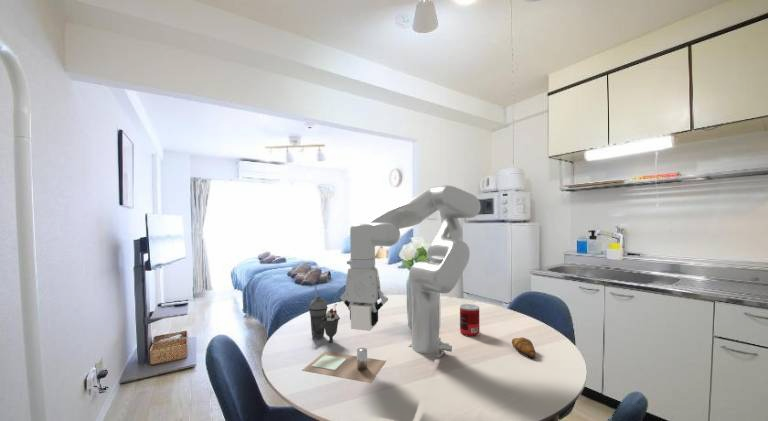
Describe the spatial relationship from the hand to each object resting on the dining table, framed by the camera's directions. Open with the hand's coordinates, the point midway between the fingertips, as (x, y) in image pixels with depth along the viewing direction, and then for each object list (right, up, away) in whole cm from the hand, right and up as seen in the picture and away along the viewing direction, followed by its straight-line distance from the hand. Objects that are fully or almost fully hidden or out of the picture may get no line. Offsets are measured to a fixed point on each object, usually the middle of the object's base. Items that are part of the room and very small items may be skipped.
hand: (364, 322), depth 93 cm
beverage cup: (-20, -16, +28) cm, 38 cm away
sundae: (-13, -16, +19) cm, 28 cm away
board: (-6, -15, +1) cm, 16 cm away
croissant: (+56, -16, +15) cm, 60 cm away
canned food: (+42, -17, +32) cm, 55 cm away
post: (-1, -13, -1) cm, 13 cm away
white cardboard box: (0, -1, 0) cm, 1 cm away
